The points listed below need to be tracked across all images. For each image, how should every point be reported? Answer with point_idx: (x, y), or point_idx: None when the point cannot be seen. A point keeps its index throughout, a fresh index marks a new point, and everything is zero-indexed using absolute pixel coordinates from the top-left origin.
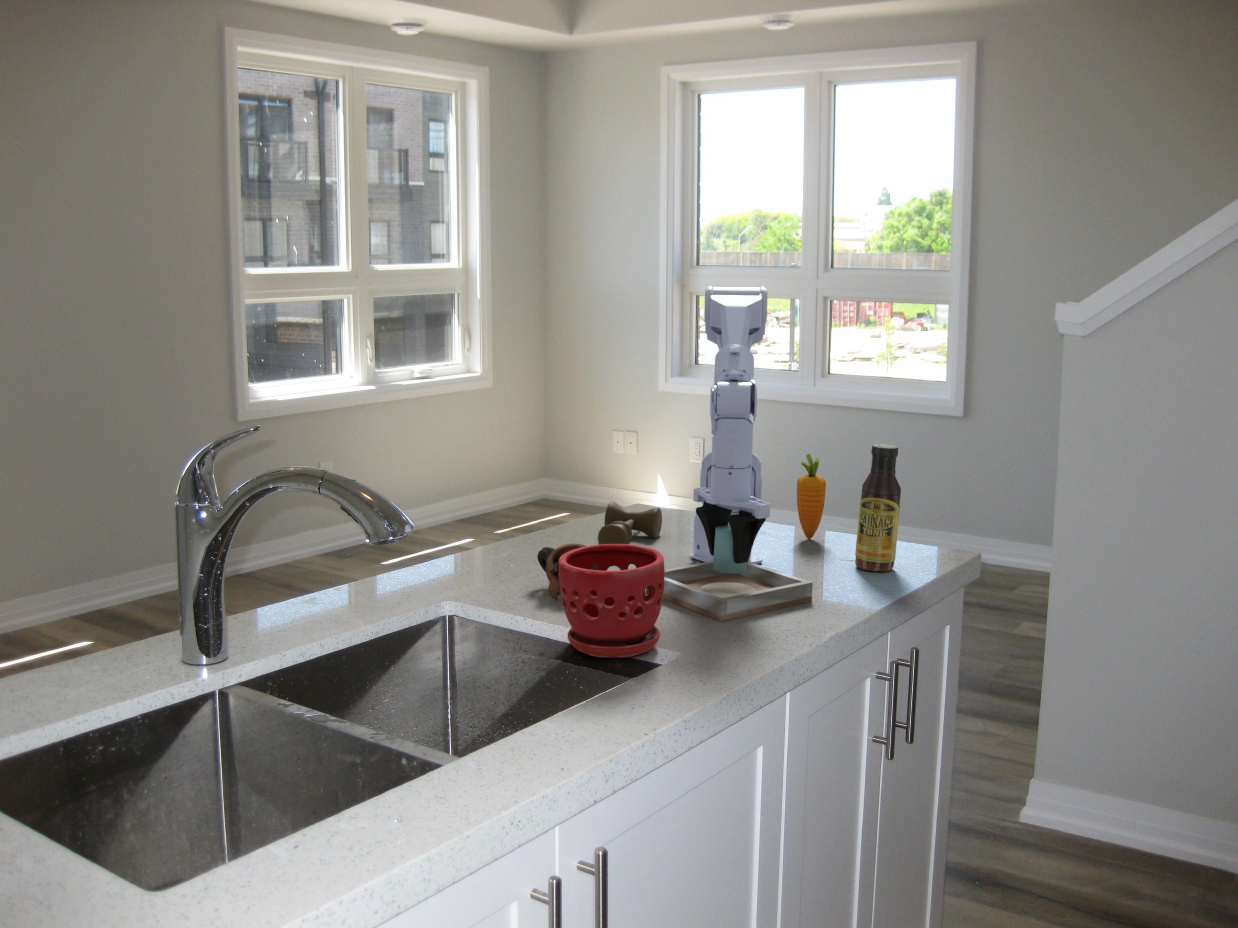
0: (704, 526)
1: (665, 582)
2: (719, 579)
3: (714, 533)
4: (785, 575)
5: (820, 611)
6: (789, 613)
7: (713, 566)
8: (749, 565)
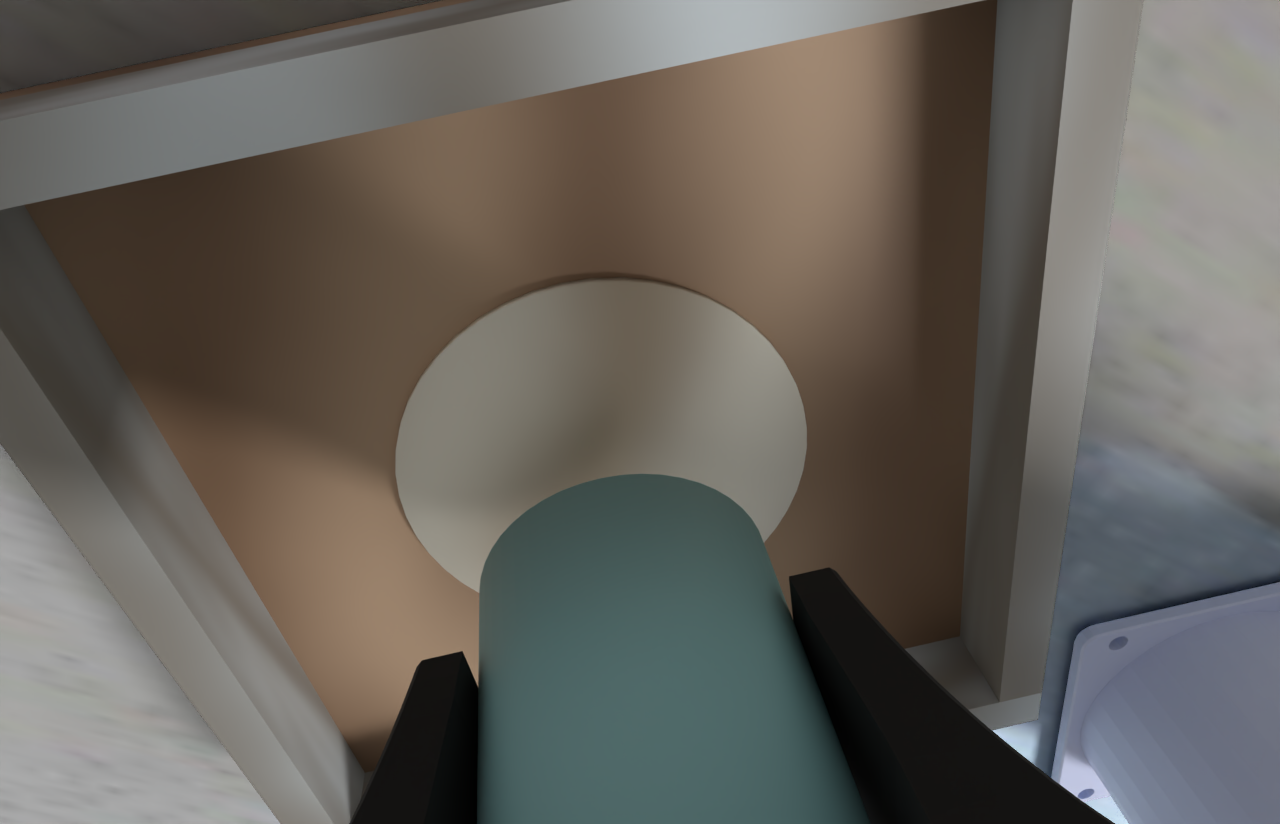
0: (1022, 797)
1: None
2: (876, 516)
3: (890, 791)
4: None
5: (139, 755)
6: (119, 618)
7: (686, 494)
8: None
